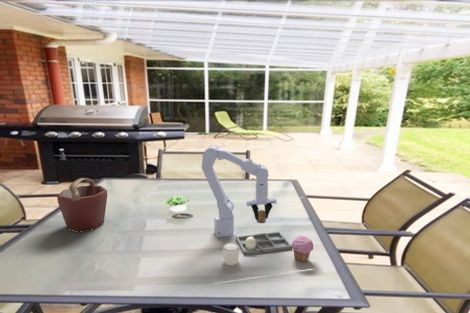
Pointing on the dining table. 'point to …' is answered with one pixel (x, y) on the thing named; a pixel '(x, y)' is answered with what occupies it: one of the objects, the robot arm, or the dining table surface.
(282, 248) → the egg tray
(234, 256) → the white textured cylinder
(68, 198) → the bucket
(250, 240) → the cream egg
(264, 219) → the brown egg
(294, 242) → the cupcake
